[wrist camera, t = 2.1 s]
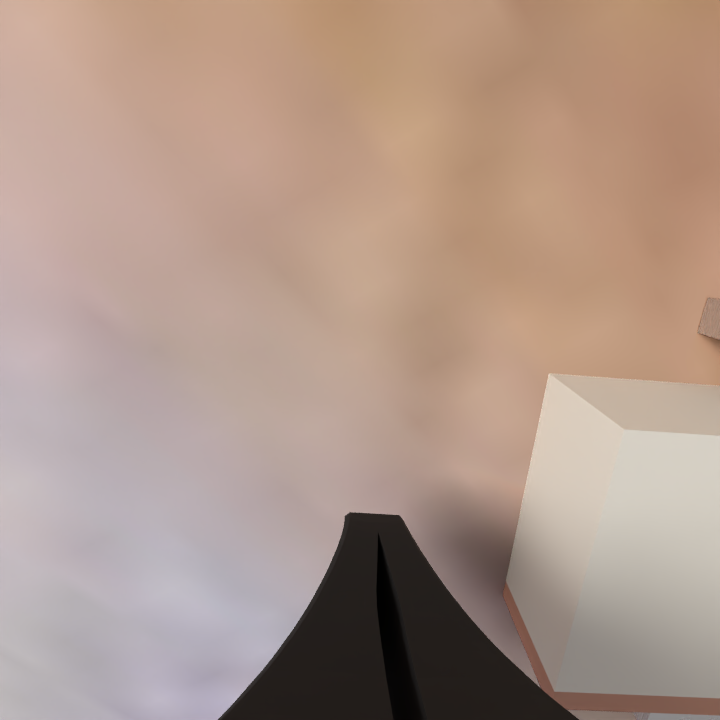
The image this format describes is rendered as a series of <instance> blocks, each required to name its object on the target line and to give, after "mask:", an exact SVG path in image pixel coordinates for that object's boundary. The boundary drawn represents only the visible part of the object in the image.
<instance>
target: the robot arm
mask: <svg viewBox="0 0 720 720" xmlns="http://www.w3.org/2000/svg"><path fill="white" fill-rule="evenodd" d="M218 720H579V719H577V718H576V717H575V716H574V715H572V714H571V713H570V712H569V711H567V710H566V709H565V708H564V707H563V706H561V705H560V704H559V703H558V702H556V701H555V700H554V699H553V698H551V697H550V696H549V695H548V694H547V693H546V692H544V691H543V690H542V689H541V688H540V687H539V686H537V685H536V684H535V683H534V682H533V681H532V680H531V679H530V678H529V677H528V676H526V675H525V674H524V673H523V672H522V671H521V670H520V669H519V668H518V667H517V666H516V665H515V664H514V663H512V662H511V661H510V660H509V659H508V658H507V657H506V656H505V655H504V654H503V653H502V652H501V651H500V650H499V649H498V648H497V647H496V646H495V645H494V644H493V643H492V642H491V641H490V640H489V639H488V638H487V636H486V635H485V634H484V633H483V632H482V631H481V630H480V629H479V628H478V627H477V625H476V624H475V623H474V622H473V621H472V620H471V618H470V617H469V616H468V615H467V614H466V612H465V611H464V610H463V609H462V608H461V606H460V605H459V604H458V602H457V601H456V600H455V599H454V597H453V596H452V595H451V594H450V592H449V591H448V590H447V588H446V587H445V585H444V584H443V583H442V581H441V580H440V579H439V577H438V576H437V574H436V573H435V571H434V570H433V568H432V567H431V565H430V564H429V563H428V561H427V560H426V558H425V556H424V555H423V553H422V552H421V550H420V549H419V547H418V545H417V544H416V542H415V540H414V539H413V537H412V535H411V534H410V532H409V530H408V528H407V526H406V525H405V523H404V521H403V519H402V518H401V517H400V516H399V515H386V514H369V513H351V512H350V513H349V514H347V515H346V516H345V522H344V528H343V532H342V535H341V538H340V541H339V544H338V547H337V550H336V552H335V554H334V556H333V559H332V561H331V563H330V566H329V568H328V570H327V572H326V574H325V576H324V578H323V580H322V582H321V584H320V586H319V587H318V589H317V591H316V593H315V595H314V597H313V599H312V600H311V602H310V604H309V605H308V607H307V609H306V610H305V612H304V614H303V615H302V617H301V618H300V620H299V621H298V623H297V624H296V626H295V627H294V629H293V630H292V632H291V633H290V635H289V636H288V637H287V639H286V640H285V641H284V643H283V644H282V646H281V647H280V648H279V650H278V651H277V652H276V654H275V655H274V656H273V658H272V659H271V660H270V661H269V663H268V664H267V665H266V667H265V668H264V669H263V670H262V671H261V673H260V674H259V675H258V676H257V677H256V678H255V679H254V681H253V682H252V683H251V684H250V685H249V686H248V687H247V689H246V690H245V691H244V692H243V693H242V694H241V695H240V697H239V698H238V699H237V700H236V701H235V702H234V703H233V704H232V706H231V707H230V708H229V709H228V710H227V711H226V712H225V713H224V714H223V715H222V716H221V717H220V718H219V719H218Z"/></svg>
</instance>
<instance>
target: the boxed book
mask: <svg viewBox="0 0 720 720" xmlns="http://www.w3.org/2000/svg"><path fill="white" fill-rule="evenodd" d="M503 597H504V599H505V602H506V604H507V607H508V609H509V612H510V614H511V616H512V619H513V621H514V624H515V626H516V628H517V631H518V633H519V636H520V638H521V641H522V643H523V645H524V648H525V650H526V653H527V655H528V658H529V660H530V662H531V665H532V667H533V670H534V672H535V675H536V677H537V679H538V682H539V684H540V687H541V689H542V690H543V691H544V692H546V693H547V694H548V695H549V696H550V697H551V698H553V699H554V700H555V701H556V702H558V703H559V704H560V705H561V706H563V707H564V708H565V709H566V710H591V711H616V712H642V713H668V714H693V715H719V716H720V386H718V385H704V384H690V383H676V382H662V381H648V380H635V379H621V378H607V377H593V376H579V375H565V374H552V373H549V376H548V381H547V386H546V390H545V395H544V400H543V405H542V410H541V414H540V419H539V424H538V429H537V434H536V438H535V443H534V448H533V453H532V458H531V462H530V467H529V472H528V477H527V482H526V486H525V491H524V496H523V501H522V506H521V510H520V515H519V520H518V525H517V530H516V534H515V539H514V544H513V549H512V554H511V558H510V563H509V568H508V573H507V578H506V582H505V587H504V592H503Z"/></svg>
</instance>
